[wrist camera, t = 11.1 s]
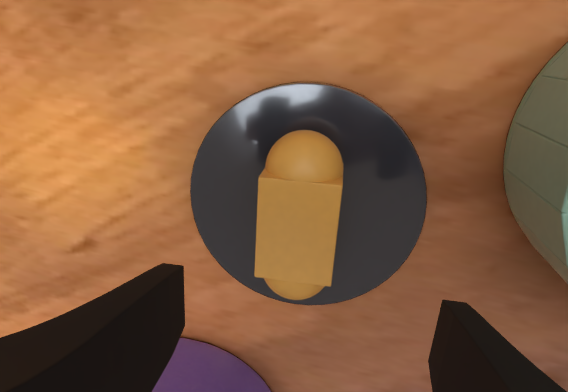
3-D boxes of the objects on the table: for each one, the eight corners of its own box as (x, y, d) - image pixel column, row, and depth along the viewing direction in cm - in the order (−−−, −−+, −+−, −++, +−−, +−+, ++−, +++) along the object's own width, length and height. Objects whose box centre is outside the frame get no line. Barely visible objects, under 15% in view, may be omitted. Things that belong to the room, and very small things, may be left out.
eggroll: (330, 279, 21) (326, 319, 18) (266, 271, 21) (252, 309, 18) (347, 126, 18) (347, 143, 15) (274, 120, 18) (259, 135, 15)
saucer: (368, 327, 22) (369, 335, 21) (172, 254, 22) (168, 260, 22) (468, 132, 18) (472, 135, 17) (227, 45, 18) (224, 45, 17)
